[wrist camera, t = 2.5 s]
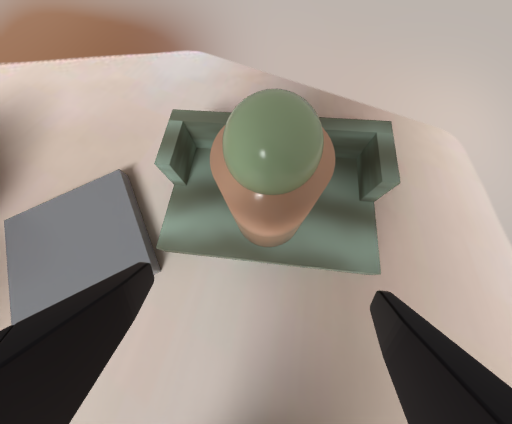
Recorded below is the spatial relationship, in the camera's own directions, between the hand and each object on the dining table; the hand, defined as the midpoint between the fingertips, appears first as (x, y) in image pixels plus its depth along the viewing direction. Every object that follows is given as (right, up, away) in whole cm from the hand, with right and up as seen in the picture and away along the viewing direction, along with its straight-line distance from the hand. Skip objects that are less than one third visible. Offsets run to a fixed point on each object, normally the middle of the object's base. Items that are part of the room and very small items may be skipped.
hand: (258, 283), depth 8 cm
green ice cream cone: (+1, +3, +12) cm, 12 cm away
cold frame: (+1, +4, +14) cm, 15 cm away
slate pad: (-19, -1, +13) cm, 23 cm away
